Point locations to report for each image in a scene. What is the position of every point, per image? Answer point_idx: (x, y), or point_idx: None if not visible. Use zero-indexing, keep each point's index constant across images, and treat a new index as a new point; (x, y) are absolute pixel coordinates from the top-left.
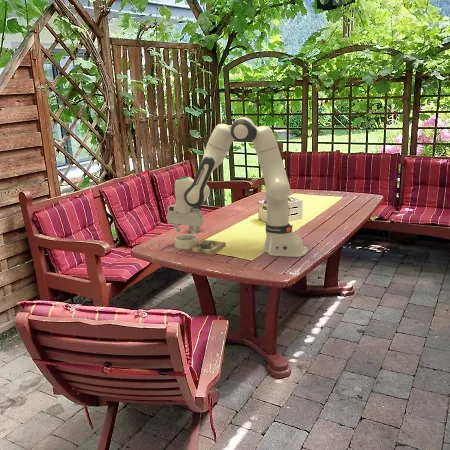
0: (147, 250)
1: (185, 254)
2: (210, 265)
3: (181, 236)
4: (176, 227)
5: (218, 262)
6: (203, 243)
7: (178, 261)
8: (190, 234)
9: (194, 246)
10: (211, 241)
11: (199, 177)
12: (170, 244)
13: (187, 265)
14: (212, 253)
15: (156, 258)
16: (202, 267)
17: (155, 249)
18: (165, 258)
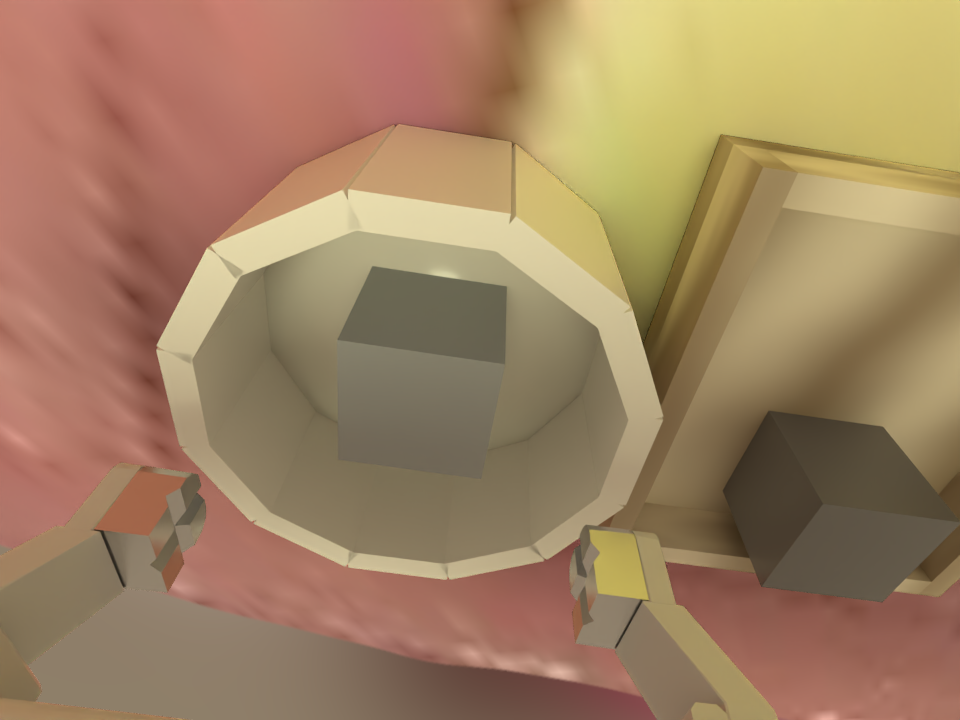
0: (40, 496)
1: None
2: (849, 677)
3: (232, 297)
4: (75, 612)
5: (935, 633)
6: (815, 577)
7: (534, 649)
8: (413, 238)
9: (637, 514)
10: (946, 228)
11: None
12: (108, 252)
13: None
14: None
15: (303, 626)
16: (777, 703)
17: (93, 459)
18: (382, 619)
